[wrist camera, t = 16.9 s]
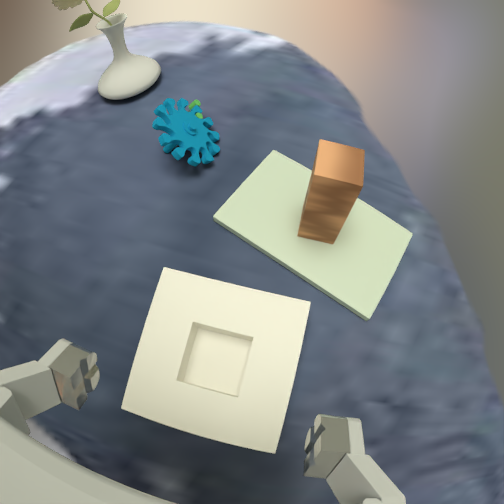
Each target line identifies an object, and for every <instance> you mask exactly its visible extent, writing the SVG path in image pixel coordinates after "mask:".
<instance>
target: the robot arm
mask: <svg viewBox="0 0 504 504" xmlns="http://www.w3.org/2000/svg"><path fill="white" fill-rule="evenodd" d="M96 362H97V356H96V354H95V353H94V352H92V351H89V350H87V349H85V348H83V347H81V346H78V345H76V344H74V343H72V342H69V341H67V340H65V339H60V340H59V341H58V342H57V343H56V344H55V345H54V346H53V347H52V348H51V349H50V350H49V351H48V352H47V353H46V354H45V355H44V356H43V357H42V358H41V359H40V360H39V361H38V362H37V361H31V362H28V363H24V364H21V365H17V366H14V367H10V368H7V369H3V370H0V504H177V503H173V502H170V501H167V500H164V499H161V498H158V497H155V496H152V495H149V494H147V493H144V492H141V491H138V490H136V489H133V488H131V487H128V486H126V485H123V484H121V483H118V482H116V481H114V480H111V479H109V478H107V477H104V476H102V475H100V474H98V473H96V472H94V471H91V470H89V469H87V468H85V467H83V466H81V465H79V464H77V463H75V462H73V461H72V460H70V459H68V458H66V457H64V456H62V455H60V454H59V453H57V452H55V451H53V450H51V449H50V448H48V447H46V446H45V445H43V444H41V443H40V442H38V441H36V440H35V439H33V438H31V437H30V436H29V434H30V429H29V428H28V425H27V423H26V421H25V420H27V419H29V418H31V417H33V416H35V415H37V414H39V413H41V412H43V411H45V410H48V409H50V408H52V407H54V406H56V405H58V404H60V403H61V402H63V403H65V404H67V405H69V406H71V407H73V408H76V409H78V410H80V408H81V407H82V406H83V404H84V403H85V401H86V400H87V393H89V392H92V391H93V390H94V389H95V387H96V386H97V383H98V380H99V369H98V367H97V366H96V364H95V363H96ZM305 452H306V453H307V457H306V459H305V460H304V474H303V476H310V477H317V478H326V481H327V482H328V484H329V486H330V488H331V489H332V491H333V493H334V494H335V496H336V498H337V499H338V501H339V503H340V504H406V501H405V496H404V495H403V494H402V493H401V492H400V491H399V489H398V488H397V487H396V486H395V485H394V484H393V483H392V481H391V480H390V479H389V478H388V477H387V476H386V474H385V473H384V472H383V471H382V470H381V469H380V467H379V466H378V465H377V464H376V463H375V462H374V460H373V459H372V458H371V457H370V456H369V455H365V449H364V441H363V433H362V425H361V420H360V419H356V418H347V417H346V418H345V417H340V416H332V415H324V414H318V415H317V417H316V419H315V426H313V427H311V428H310V430H309V432H308V434H307V437H306V442H305Z"/></svg>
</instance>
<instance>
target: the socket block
mask: <svg viewBox="0 0 504 504" xmlns="http://www.w3.org/2000/svg"><path fill="white" fill-rule="evenodd" d="M310 303H311V302H309V301H304V300H300V299H295V298H291V297H286V296H282V295H277V294H273V293H268V292H264V291H260V290H255V289H251V288H247V287H243V286H238V285H234V284H230V283H226V282H222V281H218V280H213V279H209V278H205V277H201V276H197V275H193V274H189V273H185V272H181V271H177V270H173V269H169V268H166V267H164V268H163V271H162V274H161V277H160V280H159V283H158V286H157V289H156V292H155V295H154V298H153V301H152V304H151V307H150V310H149V313H148V316H147V319H146V322H145V326H144V329H143V332H142V335H141V339H140V342H139V345H138V349H137V352H136V355H135V359H134V362H133V366H132V369H131V373H130V376H129V380H128V384H127V387H126V391H125V395H124V399H123V403H122V406H121V408H122V409H124V410H127V411H129V412H132V413H134V414H137V415H139V416H142V417H145V418H147V419H150V420H153V421H156V422H158V423H161V424H164V425H167V426H170V427H173V428H176V429H179V430H182V431H186V432H189V433H192V434H195V435H199V436H202V437H206V438H209V439H213V440H217V441H220V442H224V443H228V444H232V445H236V446H241V447H245V448H249V449H254V450H259V451H264V452H269V453H274V454H275V452H276V448H277V445H278V441H279V437H280V434H281V430H282V426H283V422H284V418H285V414H286V411H287V407H288V403H289V398H290V394H291V390H292V386H293V382H294V378H295V373H296V369H297V365H298V360H299V356H300V351H301V347H302V342H303V337H304V332H305V328H306V323H307V318H308V313H309V308H310Z"/></svg>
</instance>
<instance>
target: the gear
mask: <svg viewBox="0 0 504 504" xmlns="http://www.w3.org/2000/svg"><path fill="white" fill-rule="evenodd" d="M174 105H175V100H174V99H171V98H167V99H166V100H165V101H164V102H163V105H162V104H161V105H159V106H158V107H157V108H156V109H155V110H154V113H155V114H156V115H157V116H159V117H157V118H156V119H155V120H154V121H153V125H152V127H153V128H154V129H156V130H162V131H165V132H166V133H168V134H169V135H170V136H169V135H168V134H166V133H163V134H162V135H161V136H160V137H159V142H160V144H161V146H165V147H164V148H163V150H164V152H165V153H169V152H170V151H171V150H172V149H174V148H175V147H176V146H177V145H179V146H180V147H177V148H176V149H174V150H173V151H172V153H171V154H172V155H173V157H174V158H175V159H176V160H180V159H181V158H182V157H183V156H184V155H185V151H186V150H189V151H190V152H191V153H192V156H191V157H190V158H189V159H188V163H189V164H190V165H192V166H195V167H196V166H197V165H198V164H200V162H201V160H202V163H203V164H209V163H210V162H212V161H213V160H214V158H213V156H214V155H215V154H216V153H218V152H219V151H220V148H219V146H218V145H216V144H214V143H215V142H216V141H218V140H219V133H218V132H216V131H211V130H209V129H207V128H210V127H211V126H212V125H213V122H212V120H211V118H209V117H207V118H206V119H202V118H203V116H202V114H201V113H202V110H201V108H200V107H199V106H200V105H201V104H200V102H199V101H198V100H194V101H193V102H192V103H191V104H190V105H189V109H190V110H191V111H190V110H189V111H186V110H185V109H184V108H185V107H186V106H187V105H188V101H187V100H185V99H183V98H181V99H180V100H179V101H178V102H177V106H178V111H177V110H176V109H175V108H174ZM165 107H166V108H165ZM166 109H167V110H168V112H169V114H167V112H166ZM160 117H161V118H160ZM163 120H164V121H165V122H164V121H163ZM207 147H208V149H209V151H208V149H207ZM199 151H200V152H201V153H202V158H201V160H200V157H199Z"/></svg>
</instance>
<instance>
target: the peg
mask: <svg viewBox="0 0 504 504" xmlns="http://www.w3.org/2000/svg"><path fill="white" fill-rule="evenodd" d="M364 152H365V150H362V149H358V148H354V147H350V146H346V145H342V144H338V143H334V142H330V141H326V140H321V139H320V141H319V145H318V149H317V153H316V157H315V161H314V165H313V169H312V173H311V177H310V181H309V185H308V189H307V193H306V197H305V201H304V204H303V209H302V214H301V220H300V225H299V230H298V235H297V236H298V237H302V238H306V239H311V240H315V241H320V242H324V243H329V244H334V242H335V240H336V238H337V236H338V234H339V232H340V230H341V229H342V227H343V225H344V223H345V221H346V219H347V217H348V215H349V213H350V211H351V209H352V207H353V205H354V203H355V201H356V199H357V197H358V195H359V193H360V191H361V189H362V187H363V175H364Z"/></svg>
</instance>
